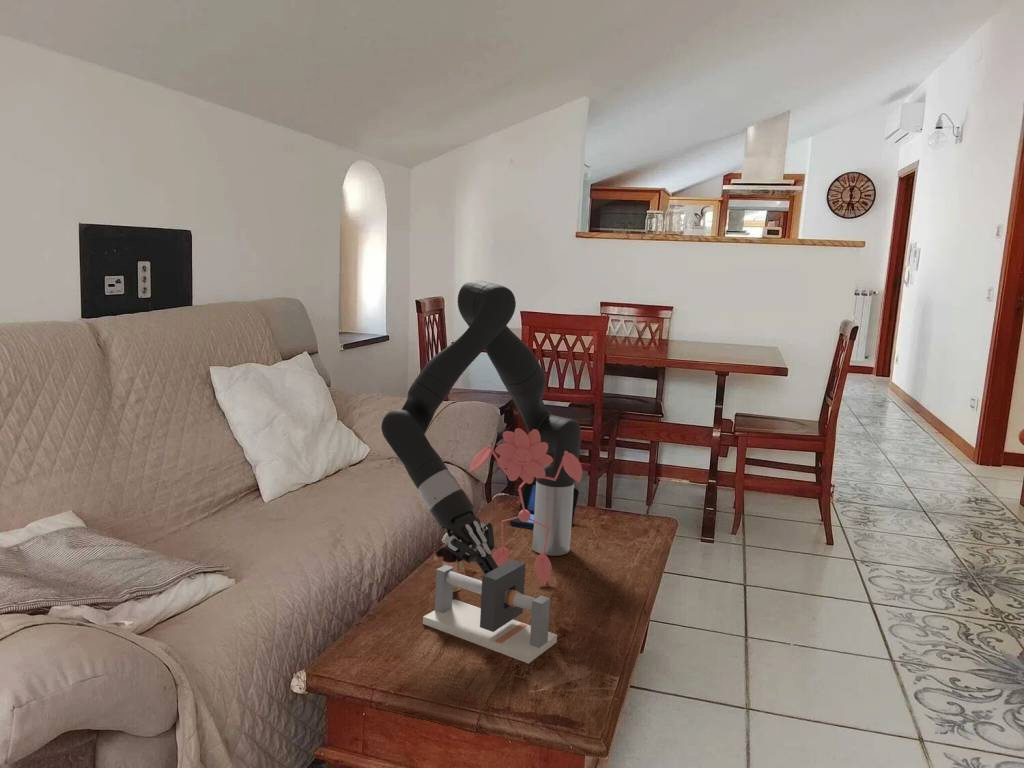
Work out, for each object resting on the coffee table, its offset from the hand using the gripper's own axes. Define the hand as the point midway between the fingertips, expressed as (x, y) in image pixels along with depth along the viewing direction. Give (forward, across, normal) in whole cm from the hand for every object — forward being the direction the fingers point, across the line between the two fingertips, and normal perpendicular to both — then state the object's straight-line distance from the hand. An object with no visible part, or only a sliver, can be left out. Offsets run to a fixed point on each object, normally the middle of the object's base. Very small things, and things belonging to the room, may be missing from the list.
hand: (494, 575), depth 149 cm
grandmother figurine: (-5, +11, +22) cm, 25 cm away
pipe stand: (+8, 0, +9) cm, 12 cm away
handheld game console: (-9, +61, +27) cm, 68 cm away
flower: (+2, +22, +15) cm, 27 cm away
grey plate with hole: (+7, 0, +4) cm, 9 cm away
